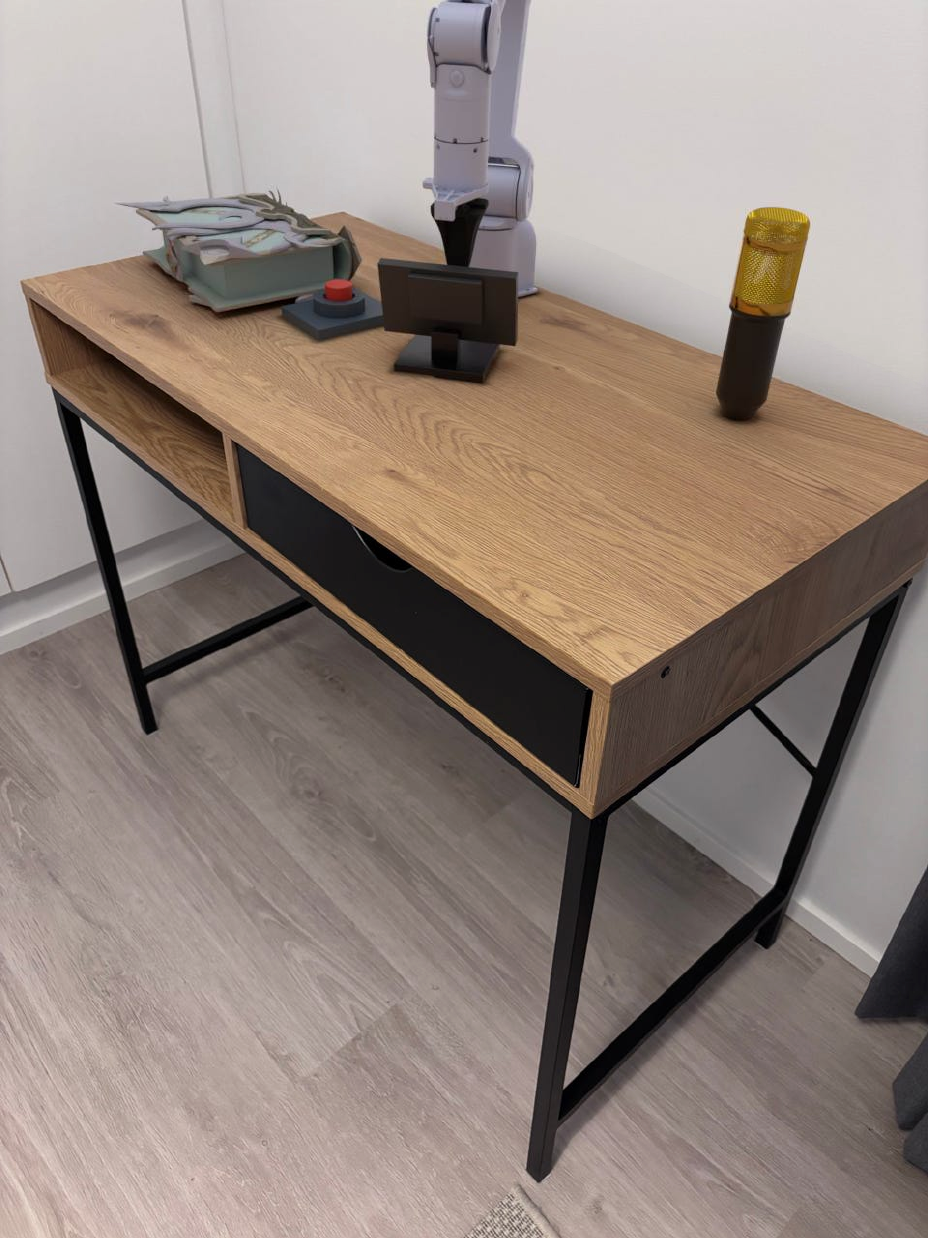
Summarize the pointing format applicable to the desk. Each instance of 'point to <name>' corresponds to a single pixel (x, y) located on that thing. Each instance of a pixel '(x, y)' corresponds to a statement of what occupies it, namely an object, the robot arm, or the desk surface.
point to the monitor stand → (447, 356)
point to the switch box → (335, 315)
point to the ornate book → (247, 249)
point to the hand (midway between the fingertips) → (458, 269)
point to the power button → (338, 290)
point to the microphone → (760, 306)
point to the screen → (449, 300)
